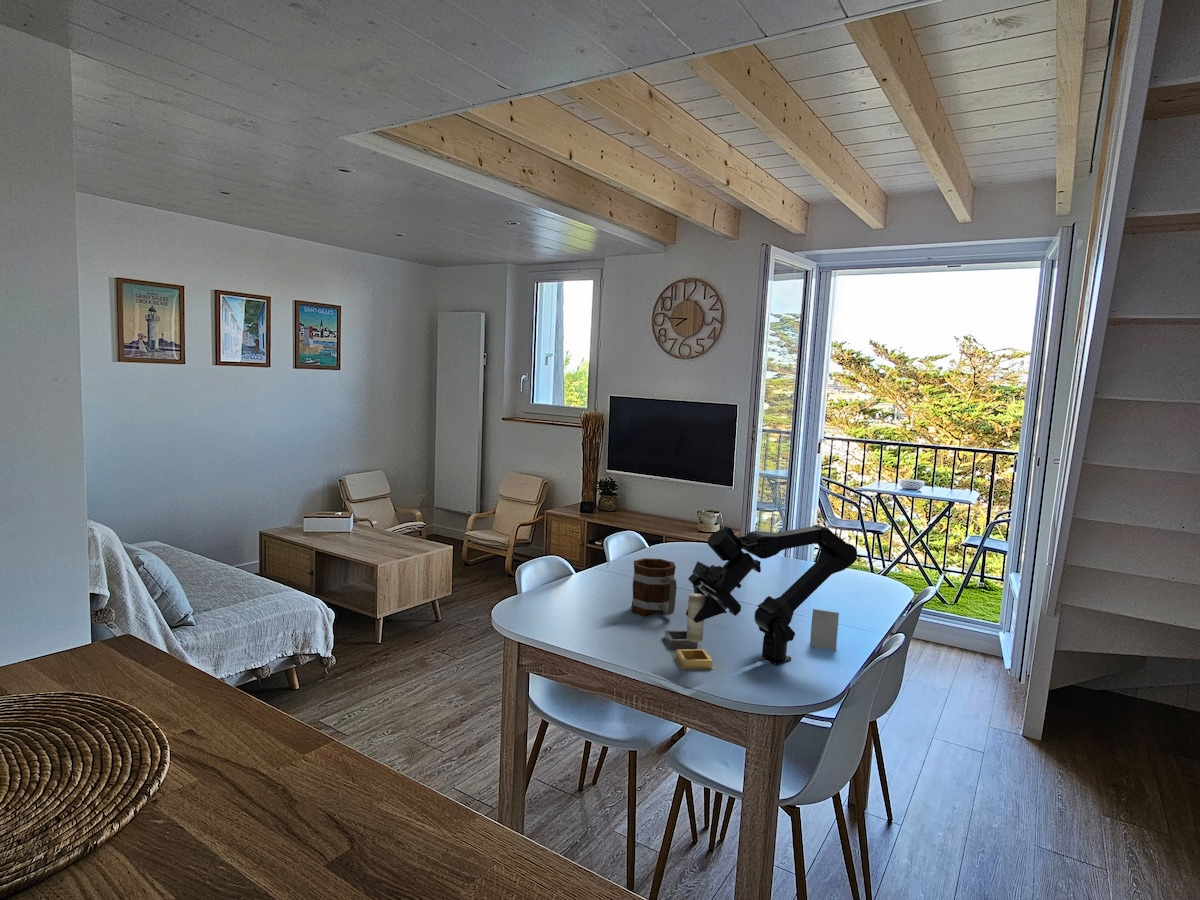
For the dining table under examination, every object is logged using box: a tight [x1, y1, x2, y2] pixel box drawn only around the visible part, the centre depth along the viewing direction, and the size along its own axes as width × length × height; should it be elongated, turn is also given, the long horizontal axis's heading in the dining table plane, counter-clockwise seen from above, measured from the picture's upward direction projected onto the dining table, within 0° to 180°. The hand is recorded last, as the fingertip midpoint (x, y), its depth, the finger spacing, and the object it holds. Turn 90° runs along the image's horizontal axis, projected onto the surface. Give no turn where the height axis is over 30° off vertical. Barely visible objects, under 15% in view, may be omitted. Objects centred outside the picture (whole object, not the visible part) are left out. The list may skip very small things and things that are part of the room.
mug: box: [630, 557, 677, 618], centre depth 211 cm, size 20×14×15 cm
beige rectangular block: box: [809, 608, 840, 652], centre depth 191 cm, size 4×7×10 cm, turn 69°
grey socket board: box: [660, 630, 717, 671], centre depth 179 cm, size 21×9×3 cm, turn 8°
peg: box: [686, 593, 705, 643], centre depth 172 cm, size 4×4×11 cm
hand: (690, 618), depth 171 cm, fingers closed on peg, 4 cm apart
